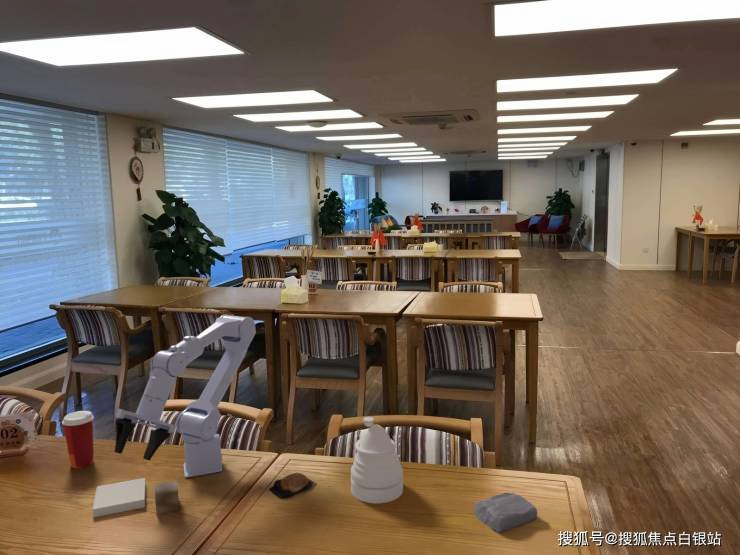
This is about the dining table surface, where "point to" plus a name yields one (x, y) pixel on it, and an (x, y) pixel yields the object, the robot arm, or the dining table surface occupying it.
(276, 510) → the dining table surface
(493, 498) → the stone block
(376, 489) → the honey pot
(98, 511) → the stoneware tile
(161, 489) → the walnut block
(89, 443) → the paper cup
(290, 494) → the brown rounded lump
